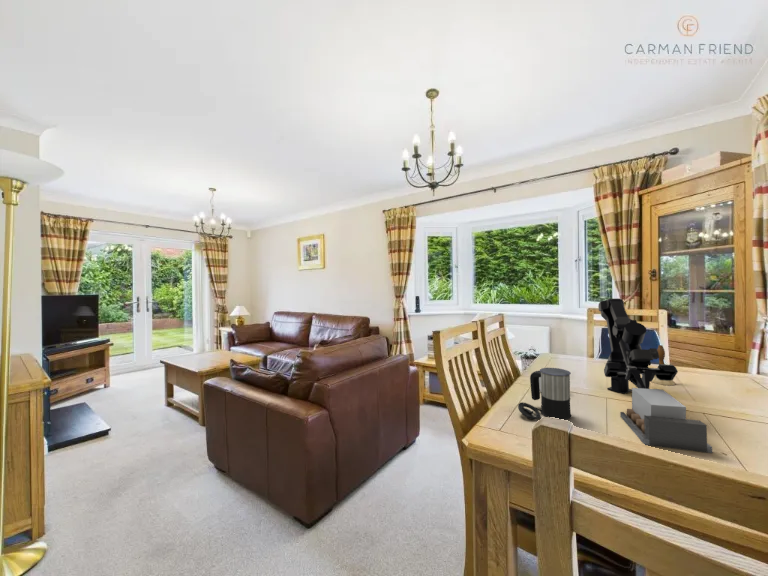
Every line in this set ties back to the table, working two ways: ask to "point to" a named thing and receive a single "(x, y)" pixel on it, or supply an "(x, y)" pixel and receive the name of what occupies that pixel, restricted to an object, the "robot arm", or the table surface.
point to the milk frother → (549, 394)
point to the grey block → (656, 404)
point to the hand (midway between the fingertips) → (646, 394)
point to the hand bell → (661, 361)
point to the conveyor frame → (672, 433)
